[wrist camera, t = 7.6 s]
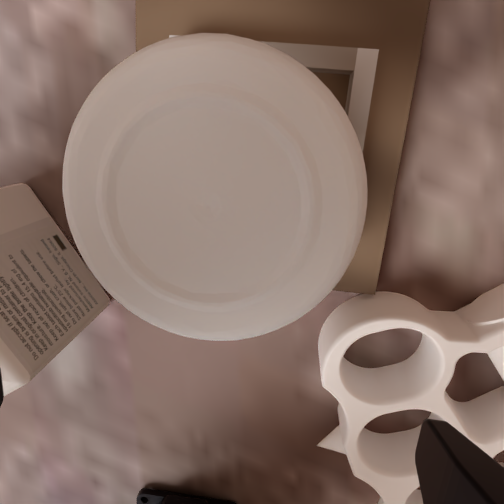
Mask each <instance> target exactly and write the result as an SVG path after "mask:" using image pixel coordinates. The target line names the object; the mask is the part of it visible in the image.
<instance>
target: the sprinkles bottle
mask: <svg viewBox="0 0 504 504" xmlns="http://www.w3.org/2000/svg"><path fill="white" fill-rule="evenodd" d="M62 191H63V199H64V205H65V211H66V217H67V220H68V224H69V228H70V231H71V233H72V236H73V239H74V241H75V244H76V246H77V248H78V250H79V252H80V254H81V256H82V258H83V259H84V261H85V263H86V265H87V266H88V268H89V269H90V271H91V272H92V274H93V275H94V276H95V278H96V279H97V280H98V281H99V283H100V284H101V285H102V286H103V287H104V289H105V290H106V291H107V292H108V293H109V294H110V295H111V296H112V297H113V298H114V299H116V300H117V301H118V302H119V303H120V304H122V305H123V306H124V307H125V308H126V309H128V310H129V311H130V312H132V313H133V314H135V315H136V316H138V317H139V318H141V319H143V320H145V321H147V322H148V323H150V324H152V325H154V326H156V327H159V328H161V329H164V330H166V331H169V332H172V333H175V334H178V335H181V336H185V337H190V338H195V339H201V340H212V341H229V340H241V339H246V338H253V337H256V336H260V335H264V334H267V333H269V332H272V331H274V330H277V329H280V328H282V327H284V326H286V325H288V324H290V323H292V322H294V321H296V320H297V319H299V318H301V317H302V316H303V315H305V314H306V313H307V312H309V311H310V310H312V309H313V308H314V307H315V306H317V305H318V304H319V303H320V302H321V301H322V300H323V299H324V298H325V297H326V296H327V295H328V294H329V293H330V292H331V291H332V290H333V288H334V287H335V286H336V285H337V283H338V282H339V281H340V279H341V278H342V276H343V275H344V273H345V271H346V270H347V268H348V266H349V264H350V262H351V260H352V259H353V257H354V254H355V252H356V249H357V246H358V244H359V241H360V238H361V235H362V231H363V227H364V223H365V217H366V209H367V191H368V190H367V174H366V168H365V163H364V158H363V153H362V150H361V147H360V144H359V141H358V138H357V135H356V133H355V131H354V128H353V126H352V124H351V122H350V120H349V118H348V116H347V114H346V112H345V111H344V109H343V108H342V106H341V105H340V103H339V101H338V100H337V99H336V97H335V96H334V95H333V93H332V92H331V91H330V90H329V89H328V88H327V87H326V86H325V85H324V83H323V82H322V81H321V80H320V79H319V78H318V77H317V76H316V75H315V74H313V73H312V72H311V71H310V70H309V69H307V68H306V67H305V66H303V65H302V64H301V63H299V62H298V61H296V60H295V59H293V58H292V57H290V56H289V55H287V54H285V53H283V52H281V51H279V50H277V49H275V48H273V47H271V46H269V45H267V44H265V43H262V42H258V41H255V40H252V39H248V38H244V37H239V36H235V35H230V34H221V33H197V34H190V35H183V36H175V37H171V38H168V39H164V40H161V41H159V42H156V43H154V44H151V45H149V46H146V47H144V48H143V49H141V50H139V51H137V52H135V53H133V54H132V55H130V56H129V57H127V58H126V59H125V60H123V61H122V62H121V63H119V64H118V65H117V66H115V67H114V68H113V69H112V70H110V71H109V72H108V73H107V74H106V75H105V76H104V77H103V78H102V79H101V80H100V82H99V83H98V84H97V85H96V86H95V87H94V89H93V90H92V92H91V93H90V94H89V96H88V97H87V99H86V100H85V102H84V103H83V105H82V107H81V109H80V111H79V113H78V115H77V117H76V119H75V121H74V123H73V125H72V128H71V132H70V134H69V138H68V142H67V145H66V149H65V156H64V163H63V178H62Z"/></svg>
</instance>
